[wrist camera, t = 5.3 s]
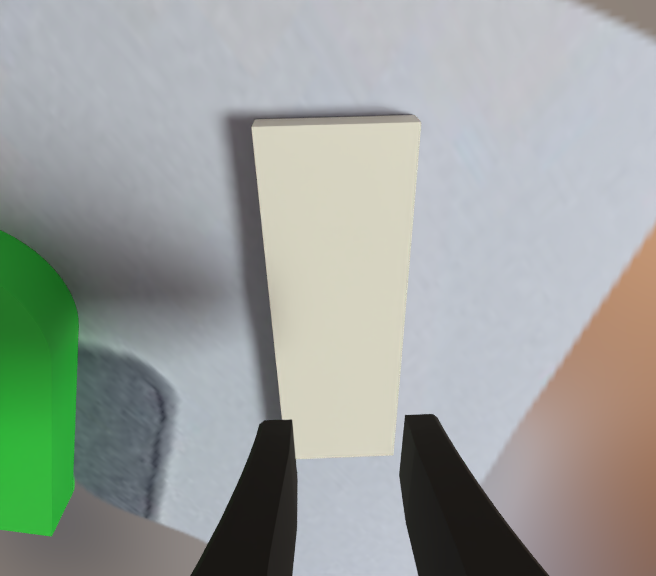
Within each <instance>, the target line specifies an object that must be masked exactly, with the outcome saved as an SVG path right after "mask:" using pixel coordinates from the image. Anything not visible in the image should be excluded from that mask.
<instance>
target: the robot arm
mask: <svg viewBox="0 0 656 576" xmlns="http://www.w3.org/2000/svg"><path fill="white" fill-rule="evenodd" d="M399 477H400V484H401V492H402V499H403V506H404V513H405V520H406V525H407V529H408V534H409V538H410V542H411V546H412V550H413V555H414V559H415V563H416V567H417V571H418V575H419V576H549V575H548V574H547V572H546V571H545V570H544V569H543V568H542V566H541V565H540V564H539V563H538V562H537V560H536V559H535V558H534V557H533V555H532V554H531V553H530V552H529V550H528V549H527V548H526V547H525V545H524V544H523V543H522V542H521V540H520V539H519V538H518V537H517V535H516V534H515V533H514V531H513V530H512V529H511V528H510V526H509V525H508V524H507V522H506V521H505V520H504V518H503V517H502V516H501V514H500V513H499V512H498V510H497V509H496V507H495V506H494V505H493V503H492V502H491V501H490V499H489V498H488V496H487V495H486V493H485V492H484V491H483V489H482V488H481V486H480V485H479V484H478V482H477V481H476V479H475V478H474V476H473V475H472V473H471V472H470V470H469V469H468V467H467V466H466V464H465V463H464V461H463V460H462V458H461V456H460V455H459V453H458V452H457V450H456V449H455V447H454V445H453V444H452V442H451V440H450V439H449V437H448V435H447V434H446V432H445V430H444V429H443V427H442V425H441V423H440V422H439V420H438V418H437V417H436V416H435V415H433V414H422V415H405V421H404V432H403V442H402V452H401V462H400V473H399ZM296 532H297V468H296V457H295V445H294V434H293V423H292V419H290V420H264V421H263V422H262V423H261V424H259V428H258V431H257V435H256V438H255V441H254V444H253V447H252V449H251V452H250V455H249V457H248V460H247V462H246V465H245V467H244V470H243V472H242V474H241V477H240V479H239V481H238V484H237V486H236V488H235V490H234V492H233V494H232V496H231V499H230V501H229V503H228V505H227V507H226V509H225V511H224V514H223V516H222V518H221V520H220V522H219V524H218V526H217V527H216V529H215V531H214V533H213V535H212V537H211V539H210V541H209V543H208V544H207V546H206V548H205V550H204V552H203V554H202V556H201V558H200V560H199V561H198V563H197V565H196V567H195V569H194V570H193V572H192V574H191V576H292V572H293V562H294V552H295V542H296Z"/></svg>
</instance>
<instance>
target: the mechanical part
mask: <svg viewBox="0 0 656 576" xmlns="http://www.w3.org/2000/svg"><path fill="white" fill-rule="evenodd" d="M78 331H79V322H78V314H77V309H76V306H75V302H74V300H73V298H72V295H71V293H70V291H69V290H68V288H67V286H66V285H65V283H64V282H63V280H62V279H61V277H60V276H59V275H58V274H57V272H56V271H55V270H54V269H53V268H52V267H51V266H50V265H49V264H48V263H47V262H46V261H45V260H44V259H43V258H42V257H41V256H40V255H39V254H37V253H36V252H35V251H34V250H32V249H31V248H30V247H28V246H27V245H26V244H24V243H22V242H21V241H19V240H18V239H16V238H14V237H13V236H11V235H9V234H7V233H5V232H3V231H1V230H0V530H8V531H15V532H23V533H30V534H38V535H45V536H52V535H53V532H54V531H55V529H56V526H57V524H58V522H59V520H60V518H61V516H62V514H63V512H64V510H65V508H66V506H67V504H68V502H69V500H70V497H71V496H72V493H73V491H74V488H75V479H74V478H73V465H74V438H75V411H76V385H77V358H78Z"/></svg>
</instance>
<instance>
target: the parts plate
mask: <svg viewBox="0 0 656 576" xmlns="http://www.w3.org/2000/svg"><path fill="white" fill-rule="evenodd" d="M420 131H421V121H420V120H419V119H418V118H417V117H416V116H415V115H396V116H360V117H324V118H288V119H255V120H254V123H253V125H252V137H253V147H254V156H255V166H256V175H257V185H258V194H259V204H260V213H261V223H262V233H263V242H264V252H265V261H266V271H267V280H268V290H269V299H270V309H271V318H272V328H273V338H274V347H275V357H276V366H277V376H278V385H279V395H280V404H281V414H282V420H290V419H292V423H293V434H294V445H295V457H296V459H312V458H337V457H363V456H388V455H393V453H394V441H395V429H396V417H397V405H398V393H399V381H400V369H401V357H402V346H403V334H404V322H405V310H406V298H407V286H408V274H409V262H410V250H411V238H412V226H413V214H414V202H415V190H416V178H417V167H418V155H419V143H420Z"/></svg>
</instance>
